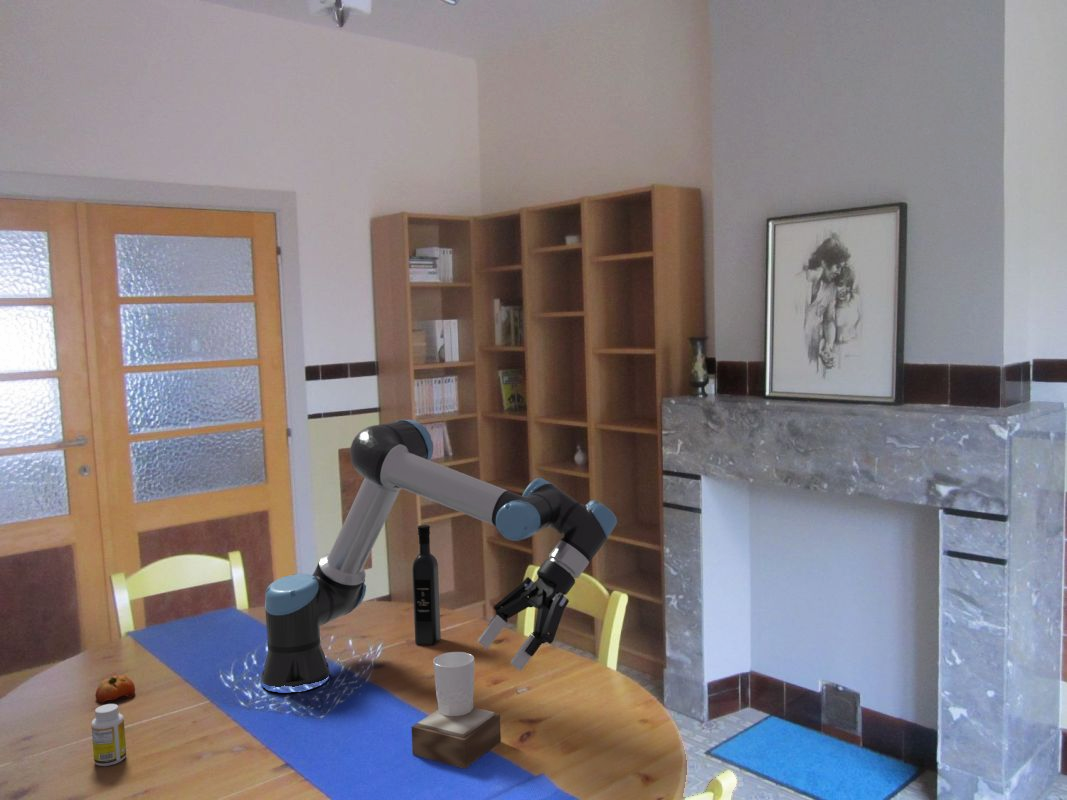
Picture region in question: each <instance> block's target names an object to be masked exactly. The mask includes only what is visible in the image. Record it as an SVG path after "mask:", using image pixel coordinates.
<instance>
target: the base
mask: <svg viewBox="0 0 1067 800" xmlns="http://www.w3.org/2000/svg"><path fill="white" fill-rule="evenodd" d="M501 735H502V734H501V714H500V713H495V712H494V711H491V710H486V709H483V708H478V707H474V706H473V709H472V711H471V712H470V713H468V714H466V715H462V716H454V717H453V716H445V715H442V714H441V713H439V710H438V709H436V710H435V711H433V712H432V713H430V714H429V715H427V716H426V717H424V718H422V719H421V720H419V721H418V722H417V723H415V724H414V725H412V726H411V742H412V743H411V747H412V748H411V749H412V755H414V756H416V757H419V758H420V757H421V758H424V759H427V760H431V761H435V762H438V763H442V764H445V765H449V766H453V767H457V768H460V769H465V770H466V769H467V768H468V767H470V766H471V765H472V764H474V763H475V762H477V760H479V759H480V758H482V757H483V756H485V754H487V753H488V752H489V751H490V750H492V749H493V748H494V747H496V746H497V745H498V744H499V743H501V742H502V740H501V739H502V738H501V737H502V736H501Z"/></svg>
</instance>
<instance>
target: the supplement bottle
mask: <svg viewBox="0 0 1067 800" xmlns="http://www.w3.org/2000/svg"><path fill="white" fill-rule="evenodd" d="M94 717H95V718H93V720H92V721H91V722H90V723H91V724H90V725H91V737H92V740H91V741H92V751H93V762H94V763H95V765H97V766H99V767H109V766H113V765H116V764H118V763H121V762H123V761H124V759H126V757H127V745H126V744H127V742H126V741H127V740H126V732H125V731H126V730H125V729H126V728H125V717H124V715H123V714H121V713H120V710H119V705H117V704H116V703H107V704H103V705H99V706H98V707H96V708H95V711H94Z"/></svg>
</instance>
